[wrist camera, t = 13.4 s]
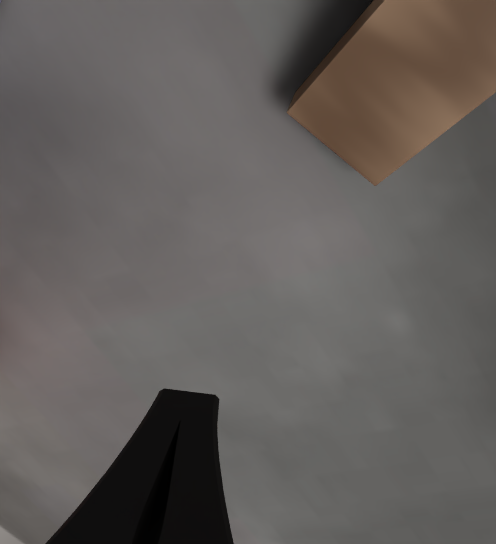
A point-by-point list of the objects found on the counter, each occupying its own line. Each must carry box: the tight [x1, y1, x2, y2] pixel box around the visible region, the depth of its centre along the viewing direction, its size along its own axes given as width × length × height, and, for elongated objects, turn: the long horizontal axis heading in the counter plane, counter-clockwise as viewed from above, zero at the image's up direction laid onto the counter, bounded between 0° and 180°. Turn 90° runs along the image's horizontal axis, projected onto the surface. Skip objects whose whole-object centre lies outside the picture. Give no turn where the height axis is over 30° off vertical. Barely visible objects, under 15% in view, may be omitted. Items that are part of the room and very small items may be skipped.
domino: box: [287, 0, 496, 186], centre depth 13 cm, size 4×2×7 cm
